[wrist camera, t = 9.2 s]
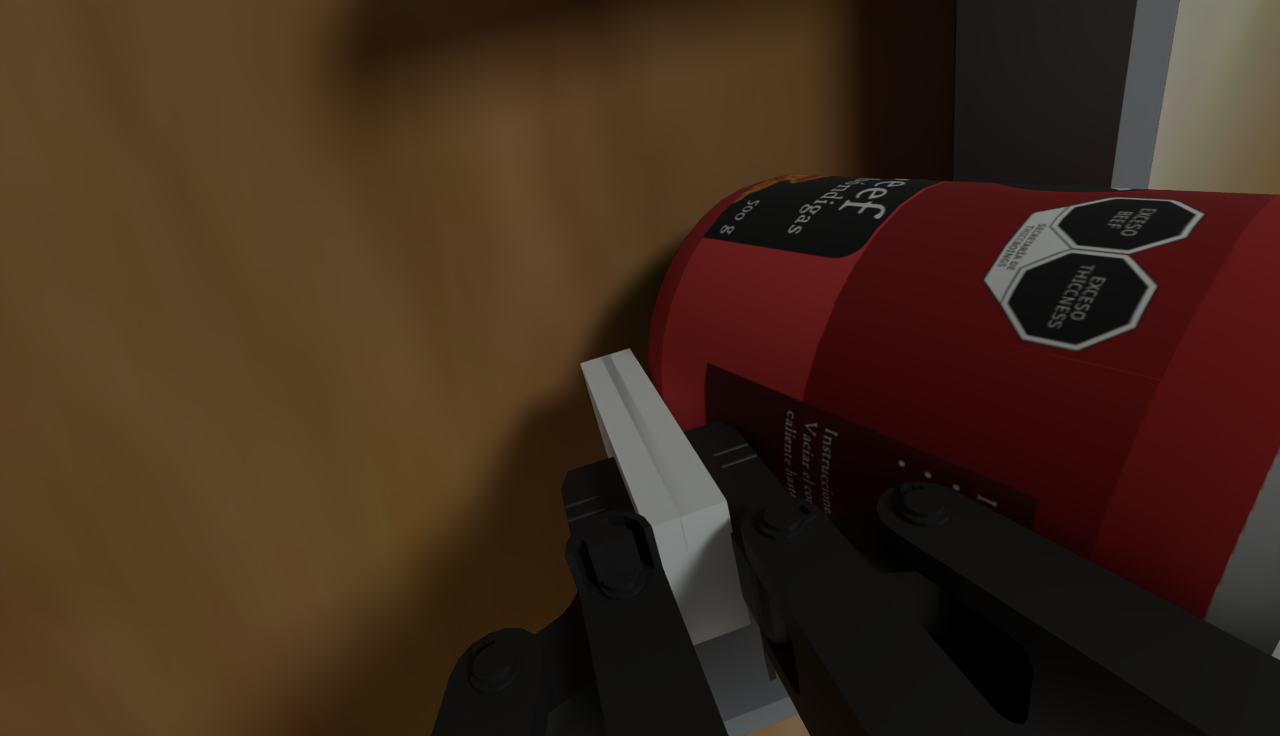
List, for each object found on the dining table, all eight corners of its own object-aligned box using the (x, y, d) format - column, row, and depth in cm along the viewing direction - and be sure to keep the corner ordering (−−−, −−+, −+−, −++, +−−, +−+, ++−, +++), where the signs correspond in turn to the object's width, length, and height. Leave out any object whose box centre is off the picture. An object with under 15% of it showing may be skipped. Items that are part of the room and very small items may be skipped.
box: (420, -193, 12) (377, -370, 7) (1003, -309, 13) (1267, -517, 9) (664, 621, 23) (707, 749, 18) (967, 511, 24) (1076, 606, 19)
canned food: (865, 210, 18) (1451, 265, 10) (792, 454, 19) (1252, 680, 11) (685, 128, 13) (1559, 101, 5) (605, 462, 15) (1180, 877, 6)
